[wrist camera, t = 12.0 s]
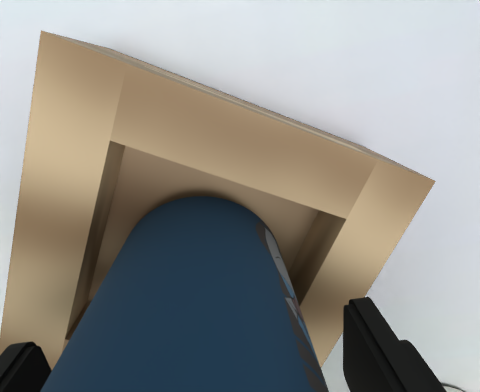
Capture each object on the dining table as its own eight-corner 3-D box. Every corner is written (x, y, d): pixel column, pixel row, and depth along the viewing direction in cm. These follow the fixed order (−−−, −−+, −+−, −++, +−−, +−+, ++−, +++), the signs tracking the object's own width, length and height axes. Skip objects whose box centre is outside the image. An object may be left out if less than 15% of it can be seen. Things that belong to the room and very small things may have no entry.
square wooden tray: (269, 333, 21) (286, 423, 16) (61, 282, 19) (-5, 368, 13) (364, 147, 17) (435, 181, 11) (109, 48, 14) (41, 30, 9)
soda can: (102, 268, 15) (-270, 883, 3) (183, 154, 13) (-49, 653, 2) (220, 330, 16) (223, 863, 5) (305, 237, 15) (574, 741, 4)
